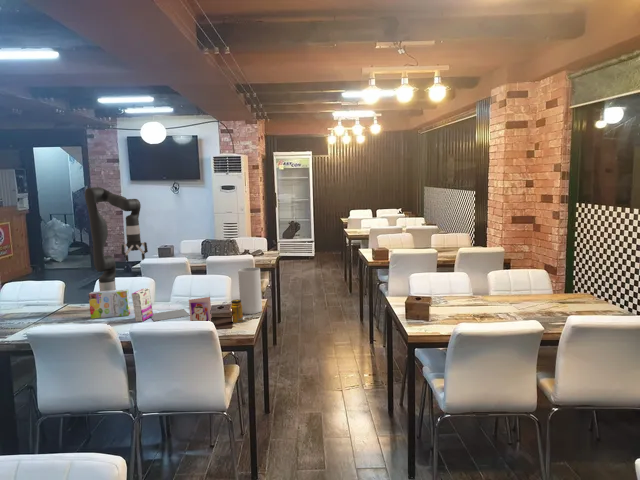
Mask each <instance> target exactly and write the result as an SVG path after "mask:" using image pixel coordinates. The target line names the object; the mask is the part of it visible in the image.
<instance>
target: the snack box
mask: <svg viewBox="0 0 640 480" xmlns="http://www.w3.org/2000/svg"><path fill="white" fill-rule="evenodd" d="M88 302H89V303H88V304H89V313H90V319H92V320H93V319H103V318H117V317H125V316H126V317H127V316H130V314H131V307H130V295H129V289H128V288H127V289H125V288H124V289H116V290H111V291H100V290H99V291H91V292H89V293H88Z"/></svg>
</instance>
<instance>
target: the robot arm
mask: <svg viewBox="0 0 640 480" xmlns="http://www.w3.org/2000/svg"><path fill="white" fill-rule="evenodd" d="M84 191H85V192H84V199H85V203H86V207H87V212H88V216H89V223H90V231H91V238H92V246H93V264H94V268H95V270H96V271H97V272H99V273H102V272H103V273H102V275H101V276H99V278H98V286H99V291H111V290H117V289H116V286H117V285H116V275H117V274H116V273H117V268H116V267H117V266H116V260H115V258H114V257H113V256H112V254H111V255H110V254H108V255H105V252H104V251H105V250H104V249H105V245H106V242H107V239H108V237H109V230H108V223H107V222H106V219H105V218H104V217H103V216H102V215H101V213H100V211H99V209H98V207H97V204H98V203H102V202H105V203H109V205H111V206H112V207H116V208H119V209H120V210H121V211H123V212H130V214H129V215H126V217H125V226H126V227H125V234H126V244H125V243H122V244H120V245H121V246H120V247H121V248H120V249H121V251H120V252H121V253H120V254H121V255H124V258H125V261H126V262H129V253H131V251H132V252H134V251H140V253H141V260H142V261H144V260H145V259H146V256H145V254H147V253H149V252H148V243H147V242H145V241H144V242H141V240H142V239H141V231H140V230H141V228H140V221H139V218H140V212H141V208H142V207H141V206H142V205H141V202H140V200H139V199H138V198H126V197H125V196H122V195H119V194H115V193H113V192H110V191H108V190H107V189H105V188H104V187H99V186H98V187H97V186H96V187H87V188H86V189H85V190H84ZM142 246H143V247H144V250H143V248H141V247H142ZM126 247H127V249H126V251H125V248H126Z"/></svg>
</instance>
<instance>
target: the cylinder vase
mask: <svg viewBox="0 0 640 480" xmlns="http://www.w3.org/2000/svg"><path fill="white" fill-rule="evenodd" d="M237 273H238V275H237V277H238V287H239V290H238V291H239V300H241V305H242V311H243V314H244V315H257V314H260V313H261V312H262V311H263V303H262V302H263V300H262V281H261V279H262V278H261V268H260V267H243V268H239V269H238V270H237Z"/></svg>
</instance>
